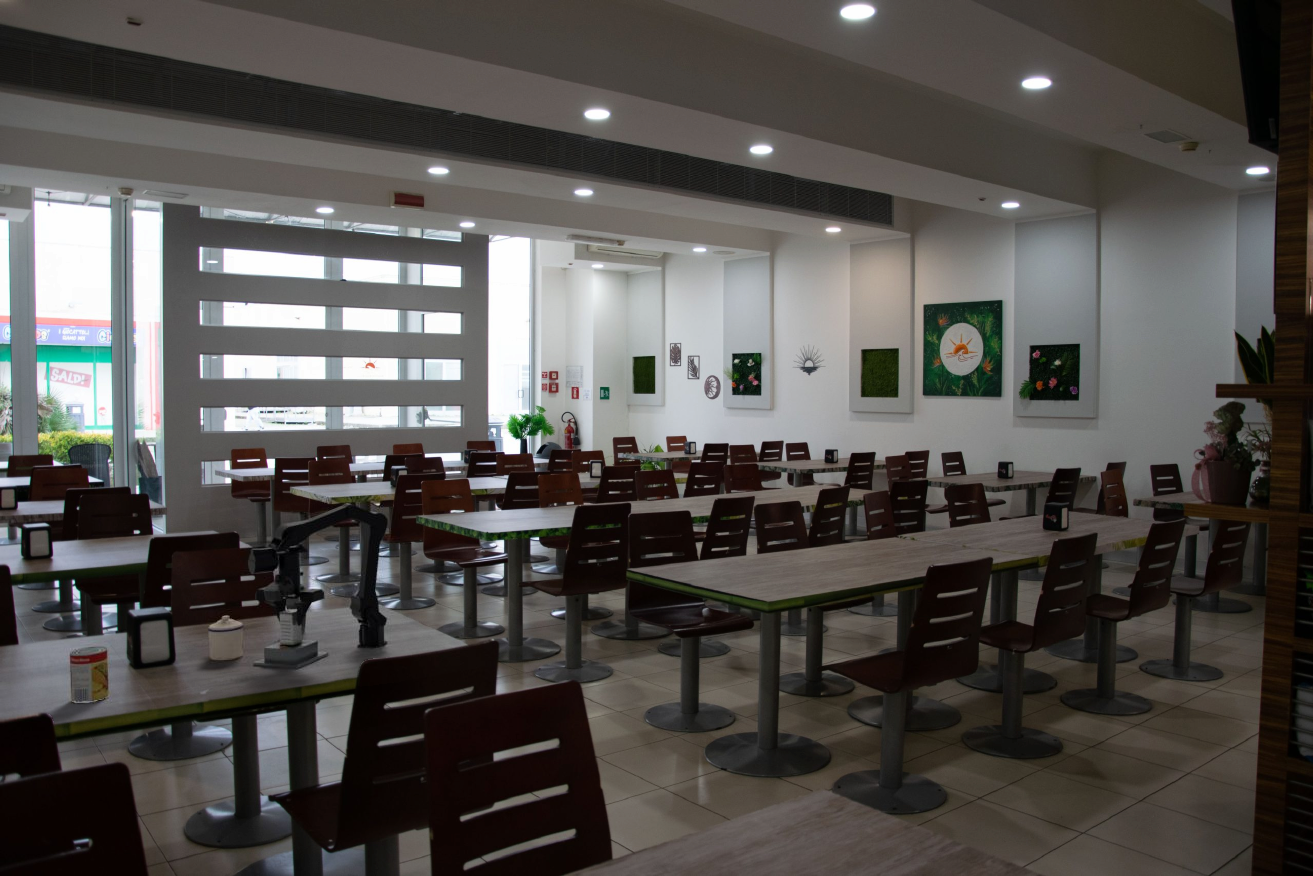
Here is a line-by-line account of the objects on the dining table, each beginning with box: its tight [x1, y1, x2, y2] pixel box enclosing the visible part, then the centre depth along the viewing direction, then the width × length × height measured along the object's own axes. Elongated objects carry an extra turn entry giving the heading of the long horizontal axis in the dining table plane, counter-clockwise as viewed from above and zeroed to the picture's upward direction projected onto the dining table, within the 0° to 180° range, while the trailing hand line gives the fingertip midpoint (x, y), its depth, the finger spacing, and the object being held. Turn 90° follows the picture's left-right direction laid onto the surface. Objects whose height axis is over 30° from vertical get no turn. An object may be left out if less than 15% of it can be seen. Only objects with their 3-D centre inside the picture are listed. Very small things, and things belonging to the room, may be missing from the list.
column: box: [279, 609, 303, 645], centre depth 263 cm, size 4×4×9 cm
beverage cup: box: [286, 583, 308, 634], centre depth 295 cm, size 7×7×20 cm
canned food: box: [69, 645, 110, 702], centre depth 230 cm, size 8×8×12 cm
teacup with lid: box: [207, 615, 244, 662], centre depth 268 cm, size 12×9×12 cm
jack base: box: [252, 639, 329, 670], centre depth 263 cm, size 14×14×5 cm
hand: (290, 624), depth 263 cm, fingers open, 5 cm apart
